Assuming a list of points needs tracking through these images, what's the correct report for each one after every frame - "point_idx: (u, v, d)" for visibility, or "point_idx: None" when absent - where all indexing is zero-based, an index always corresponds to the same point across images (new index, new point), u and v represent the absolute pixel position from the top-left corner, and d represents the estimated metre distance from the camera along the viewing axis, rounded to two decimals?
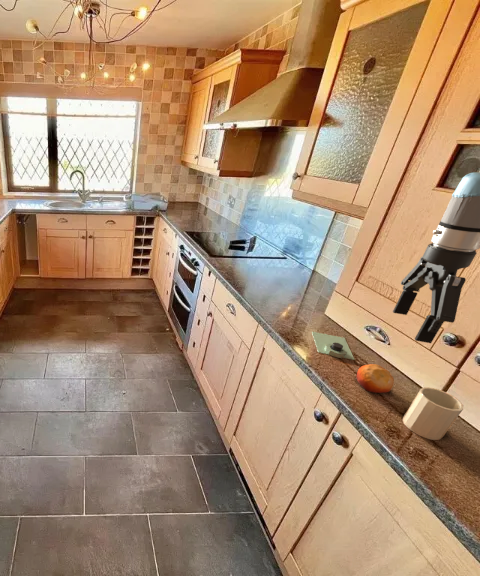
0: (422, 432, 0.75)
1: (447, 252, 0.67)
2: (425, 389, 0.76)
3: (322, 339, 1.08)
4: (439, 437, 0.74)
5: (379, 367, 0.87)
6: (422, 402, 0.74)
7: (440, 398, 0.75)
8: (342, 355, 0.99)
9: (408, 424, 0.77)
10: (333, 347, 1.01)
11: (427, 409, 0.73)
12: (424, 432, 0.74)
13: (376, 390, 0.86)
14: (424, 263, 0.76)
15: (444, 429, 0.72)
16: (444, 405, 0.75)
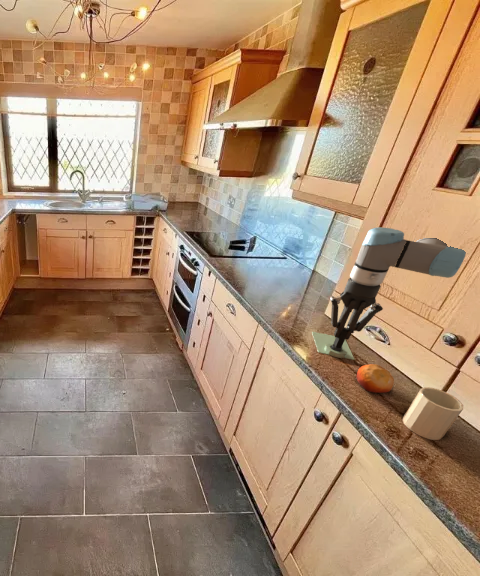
0: (422, 432, 0.75)
1: None
2: (425, 389, 0.76)
3: (322, 339, 1.08)
4: (439, 437, 0.74)
5: (379, 367, 0.87)
6: (422, 402, 0.74)
7: (440, 398, 0.75)
8: (342, 355, 0.99)
9: (408, 424, 0.77)
10: (332, 348, 1.01)
11: (427, 409, 0.73)
12: (424, 432, 0.74)
13: (376, 390, 0.86)
14: (337, 301, 0.95)
15: (444, 429, 0.72)
16: (444, 405, 0.75)
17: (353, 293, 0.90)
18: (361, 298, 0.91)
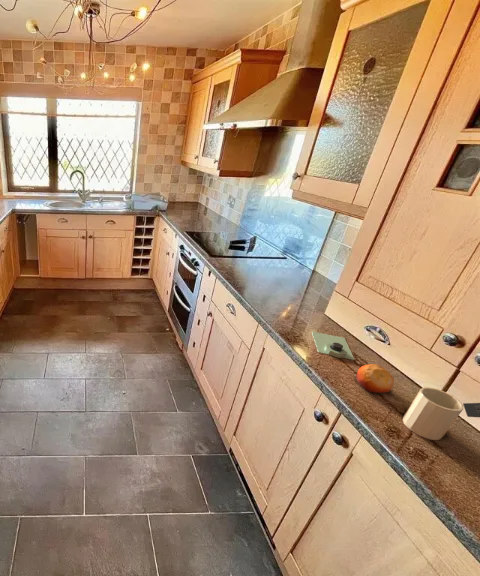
0: (422, 432, 0.75)
1: None
2: (425, 389, 0.76)
3: (322, 339, 1.08)
4: (439, 437, 0.74)
5: (379, 367, 0.87)
6: (422, 402, 0.74)
7: (440, 398, 0.75)
8: (342, 355, 0.99)
9: (408, 424, 0.77)
10: (333, 347, 1.01)
11: (427, 409, 0.73)
12: (424, 432, 0.74)
13: (376, 390, 0.86)
14: None
15: (444, 429, 0.72)
16: (444, 405, 0.75)
17: None
18: None
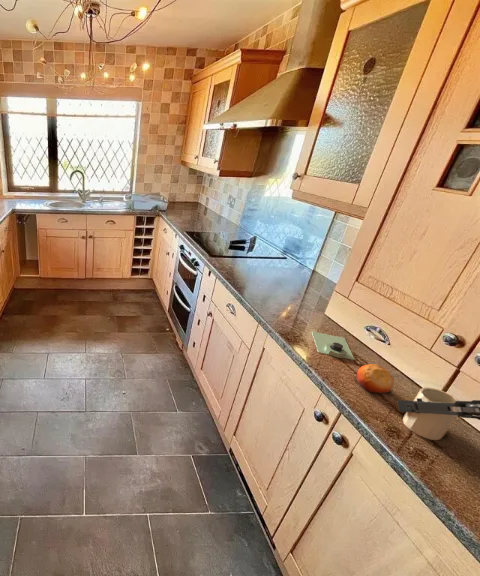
0: (422, 432, 0.75)
1: None
2: (425, 389, 0.76)
3: (322, 339, 1.08)
4: (439, 437, 0.74)
5: (379, 367, 0.87)
6: None
7: (440, 398, 0.75)
8: (342, 355, 0.99)
9: (408, 424, 0.77)
10: (333, 347, 1.01)
11: None
12: (424, 432, 0.74)
13: (376, 390, 0.86)
14: None
15: (444, 429, 0.72)
16: None
17: None
18: None
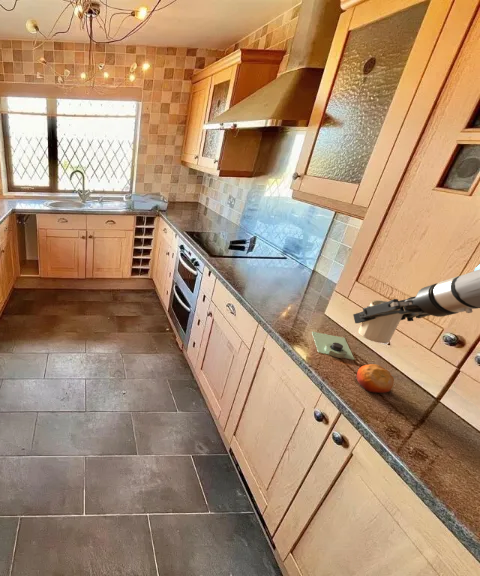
0: (372, 337, 0.88)
1: None
2: (375, 301, 0.89)
3: (322, 339, 1.08)
4: (386, 340, 0.87)
5: (379, 367, 0.87)
6: None
7: None
8: (342, 355, 0.99)
9: (362, 333, 0.90)
10: (333, 347, 1.01)
11: None
12: (374, 336, 0.87)
13: (376, 390, 0.86)
14: None
15: (390, 332, 0.85)
16: None
17: (427, 312, 0.73)
18: None
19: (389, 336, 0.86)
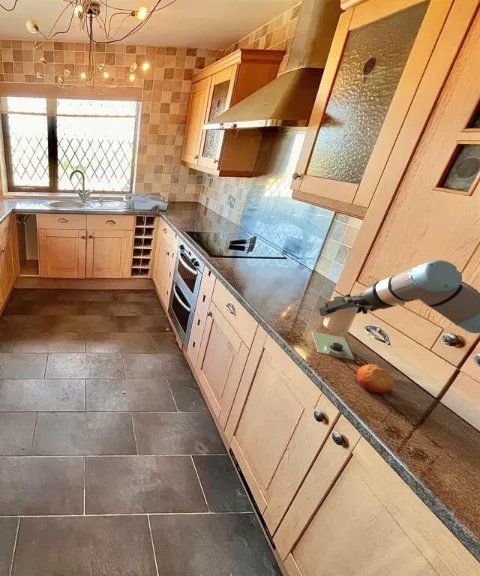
0: (334, 327, 1.02)
1: None
2: (337, 297, 1.03)
3: (322, 339, 1.08)
4: (345, 330, 1.01)
5: (379, 367, 0.87)
6: None
7: None
8: (342, 355, 0.99)
9: (325, 324, 1.05)
10: (333, 347, 1.01)
11: None
12: (335, 327, 1.02)
13: (376, 390, 0.86)
14: (351, 301, 0.91)
15: (348, 323, 1.00)
16: None
17: (372, 305, 0.87)
18: None
19: (347, 326, 1.01)
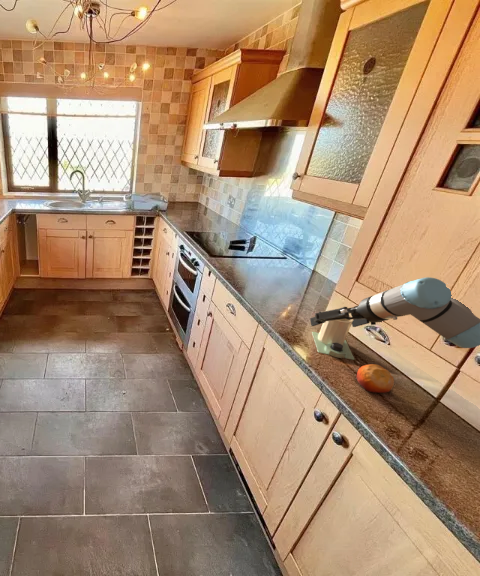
0: (328, 342, 1.05)
1: None
2: None
3: None
4: None
5: (379, 367, 0.87)
6: None
7: None
8: (342, 355, 0.99)
9: (320, 338, 1.08)
10: (333, 347, 1.01)
11: (330, 324, 1.03)
12: (329, 341, 1.05)
13: (376, 390, 0.86)
14: None
15: (341, 338, 1.03)
16: None
17: (366, 319, 0.89)
18: None
19: (341, 341, 1.03)
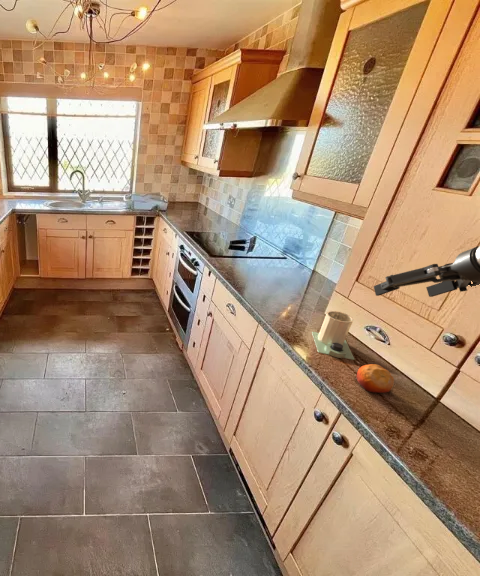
0: (328, 342, 1.05)
1: None
2: (331, 312, 1.06)
3: None
4: None
5: (379, 367, 0.87)
6: (327, 320, 1.04)
7: (341, 318, 1.06)
8: (342, 355, 0.99)
9: (320, 338, 1.08)
10: (333, 347, 1.01)
11: (330, 324, 1.03)
12: (329, 341, 1.05)
13: (376, 390, 0.86)
14: None
15: (341, 338, 1.03)
16: None
17: (468, 278, 0.66)
18: None
19: (341, 341, 1.03)
